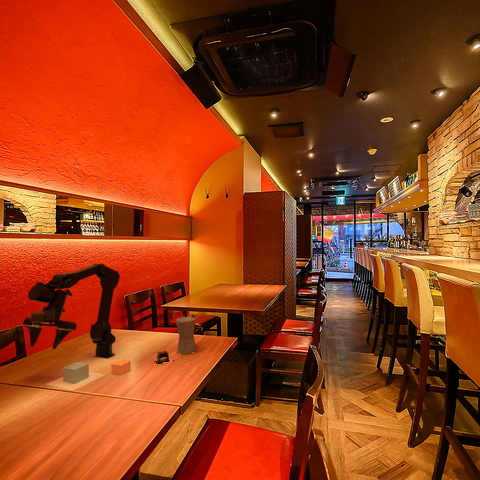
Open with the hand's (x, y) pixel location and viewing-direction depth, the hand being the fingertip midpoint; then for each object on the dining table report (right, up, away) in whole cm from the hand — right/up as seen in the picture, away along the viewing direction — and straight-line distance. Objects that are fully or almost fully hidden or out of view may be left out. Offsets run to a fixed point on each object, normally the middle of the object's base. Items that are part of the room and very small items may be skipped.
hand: (42, 347), depth 114 cm
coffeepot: (+48, -13, +33) cm, 60 cm away
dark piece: (+40, -14, +19) cm, 46 cm away
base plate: (+12, -13, +1) cm, 18 cm away
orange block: (+26, -13, +6) cm, 30 cm away
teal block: (+12, -12, +1) cm, 17 cm away
